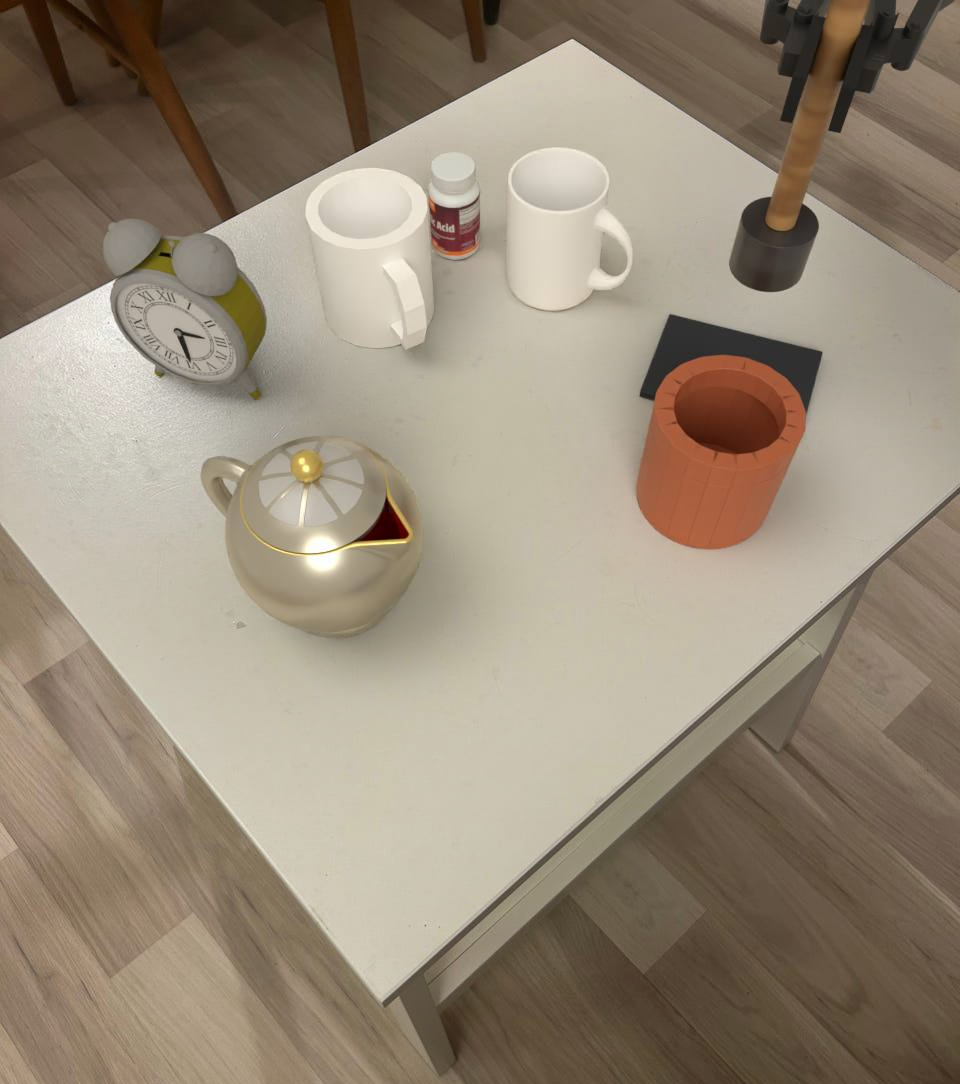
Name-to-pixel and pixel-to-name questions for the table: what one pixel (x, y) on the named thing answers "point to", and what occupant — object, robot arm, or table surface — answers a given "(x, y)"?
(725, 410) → the jar
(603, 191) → the mug
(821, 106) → the brush
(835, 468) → the table surface
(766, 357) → the mat
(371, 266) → the mug
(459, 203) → the pill bottle
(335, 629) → the teapot
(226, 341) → the alarm clock
